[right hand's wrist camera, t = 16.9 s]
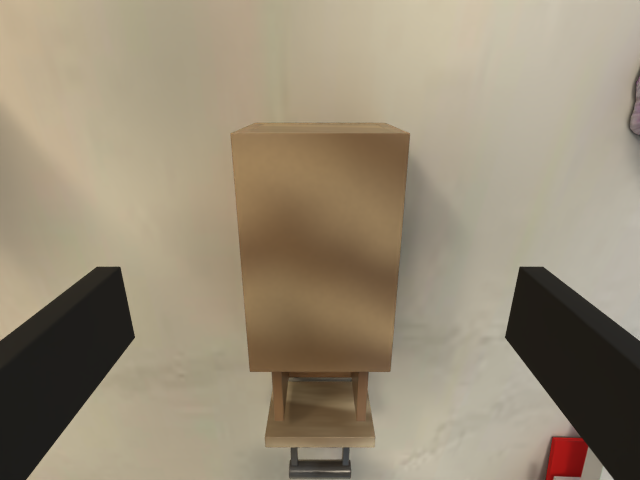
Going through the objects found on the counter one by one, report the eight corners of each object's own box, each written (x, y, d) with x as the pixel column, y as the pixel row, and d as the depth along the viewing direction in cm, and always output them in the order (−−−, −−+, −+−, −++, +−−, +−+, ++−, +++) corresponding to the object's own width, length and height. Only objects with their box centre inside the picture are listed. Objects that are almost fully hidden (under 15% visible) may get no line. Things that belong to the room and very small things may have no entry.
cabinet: (374, 310, 37) (390, 371, 29) (265, 310, 37) (249, 371, 29) (386, 122, 30) (410, 133, 22) (254, 122, 30) (230, 133, 22)
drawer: (363, 432, 41) (371, 494, 35) (276, 432, 41) (268, 494, 35) (373, 244, 33) (386, 279, 27) (266, 244, 33) (253, 279, 27)
